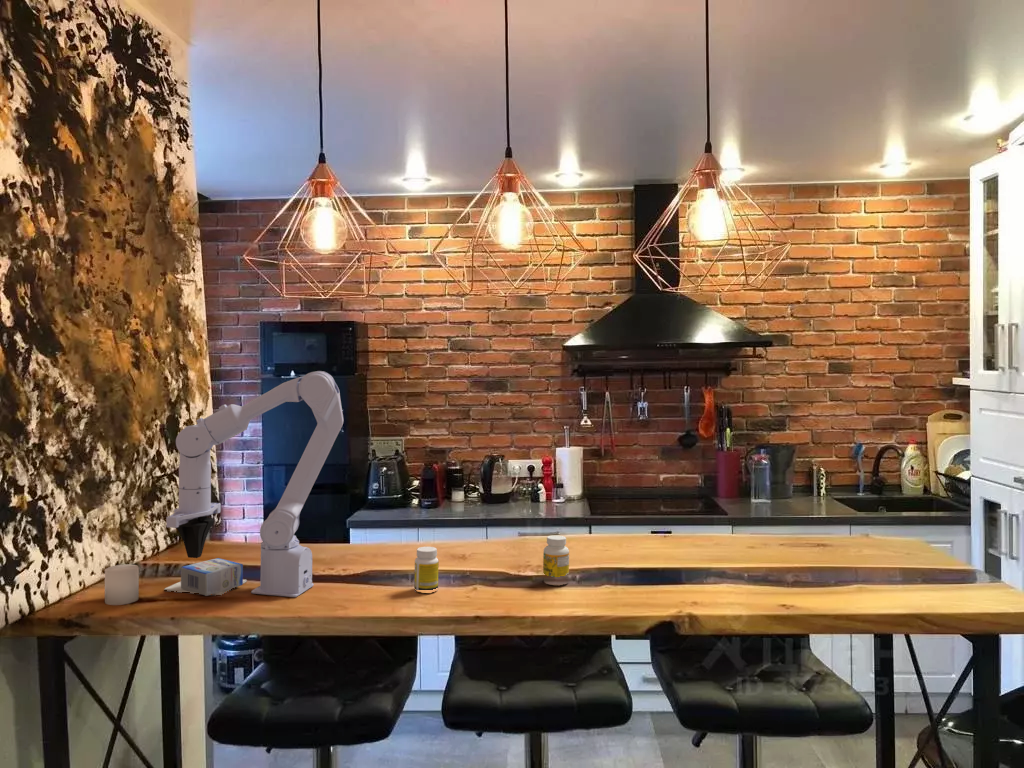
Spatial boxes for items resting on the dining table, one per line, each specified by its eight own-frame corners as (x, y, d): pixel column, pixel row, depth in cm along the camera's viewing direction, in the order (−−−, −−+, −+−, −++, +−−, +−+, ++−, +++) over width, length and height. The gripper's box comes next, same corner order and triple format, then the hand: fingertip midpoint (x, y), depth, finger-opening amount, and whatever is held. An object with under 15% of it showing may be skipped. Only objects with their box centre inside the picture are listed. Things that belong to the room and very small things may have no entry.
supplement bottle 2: (573, 584, 156) (574, 539, 156) (551, 588, 154) (552, 541, 154) (559, 577, 161) (560, 533, 161) (538, 580, 159) (539, 535, 158)
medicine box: (179, 566, 146) (217, 556, 154) (179, 589, 147) (217, 578, 154) (206, 573, 142) (243, 563, 150) (206, 597, 143) (243, 585, 150)
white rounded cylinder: (145, 596, 143) (145, 565, 143) (124, 606, 137) (124, 573, 137) (119, 594, 144) (119, 563, 144) (97, 603, 138) (97, 571, 138)
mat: (246, 581, 154) (246, 579, 154) (220, 595, 144) (220, 593, 144) (193, 577, 156) (193, 575, 156) (164, 590, 147) (164, 588, 147)
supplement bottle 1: (443, 590, 150) (443, 549, 150) (424, 595, 147) (425, 553, 147) (427, 585, 154) (428, 544, 153) (409, 590, 150) (410, 548, 150)
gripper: (198, 480, 153) (198, 546, 154) (151, 492, 139) (151, 565, 140) (230, 482, 152) (229, 548, 152) (186, 494, 138) (185, 568, 138)
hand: (194, 556), depth 146 cm, fingers closed
